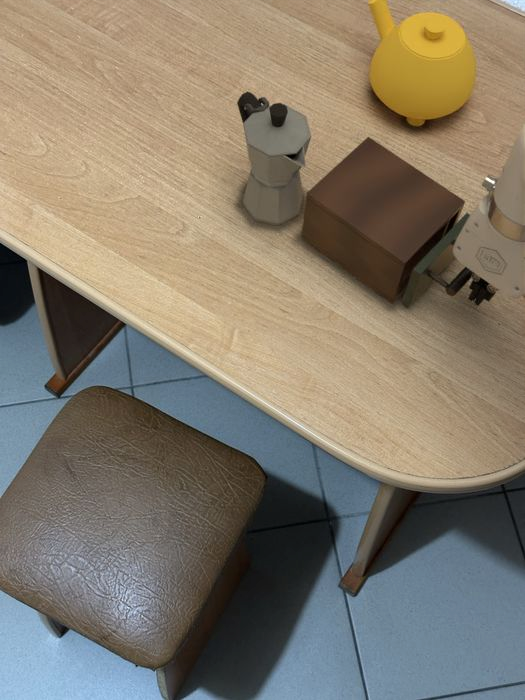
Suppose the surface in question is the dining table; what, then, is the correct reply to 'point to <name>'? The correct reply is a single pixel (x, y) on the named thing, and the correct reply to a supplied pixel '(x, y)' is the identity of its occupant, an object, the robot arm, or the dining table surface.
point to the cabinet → (377, 216)
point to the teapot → (421, 64)
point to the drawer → (435, 264)
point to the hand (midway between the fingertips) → (479, 295)
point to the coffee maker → (273, 158)
